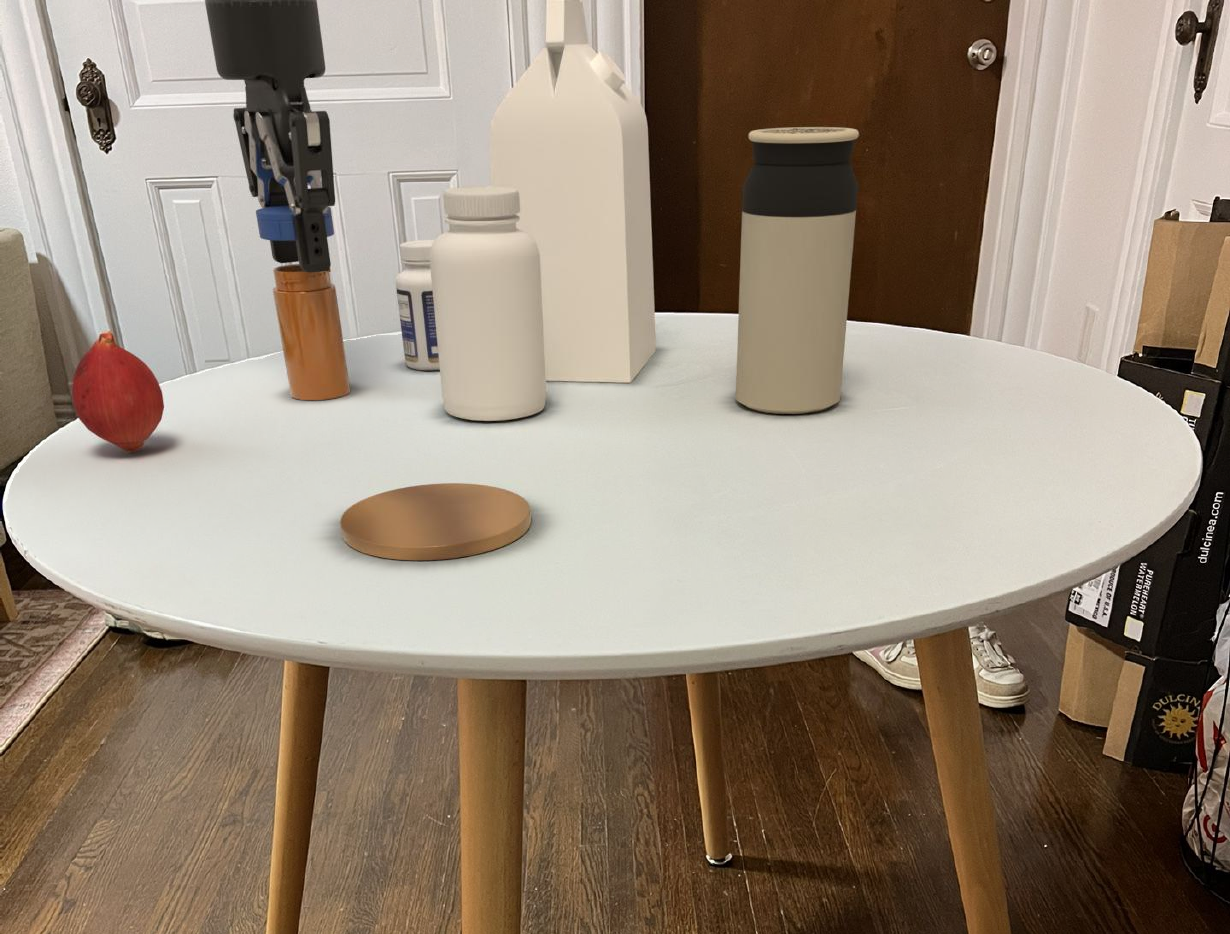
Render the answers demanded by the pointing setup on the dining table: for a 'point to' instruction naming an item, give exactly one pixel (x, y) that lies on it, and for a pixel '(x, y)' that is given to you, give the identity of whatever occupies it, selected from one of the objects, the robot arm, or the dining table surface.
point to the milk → (582, 201)
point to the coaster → (435, 521)
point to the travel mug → (795, 268)
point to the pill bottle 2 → (488, 307)
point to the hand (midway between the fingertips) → (301, 265)
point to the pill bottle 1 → (417, 306)
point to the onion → (117, 395)
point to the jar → (310, 333)
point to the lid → (283, 223)
